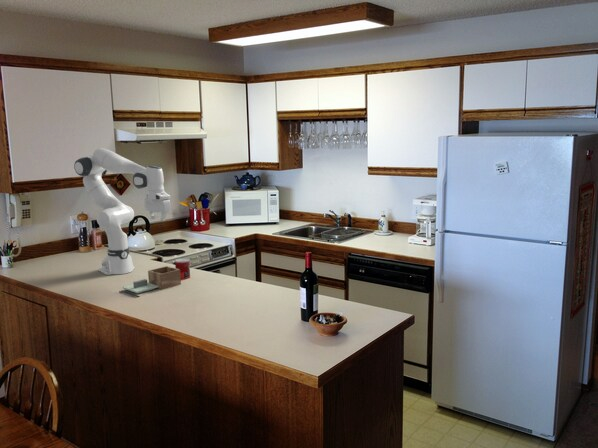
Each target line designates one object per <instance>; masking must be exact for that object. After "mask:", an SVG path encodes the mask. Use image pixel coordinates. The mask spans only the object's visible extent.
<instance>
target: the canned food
mask: <svg viewBox="0 0 598 448" xmlns="http://www.w3.org/2000/svg"><path fill="white" fill-rule="evenodd" d="M174 262H175V263H174V265H175V266H174V268H176V269H180V276H181V280H188V279H191V267H190V264H191V263H190V259H189V258H177V259H175V260H174Z"/></svg>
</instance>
